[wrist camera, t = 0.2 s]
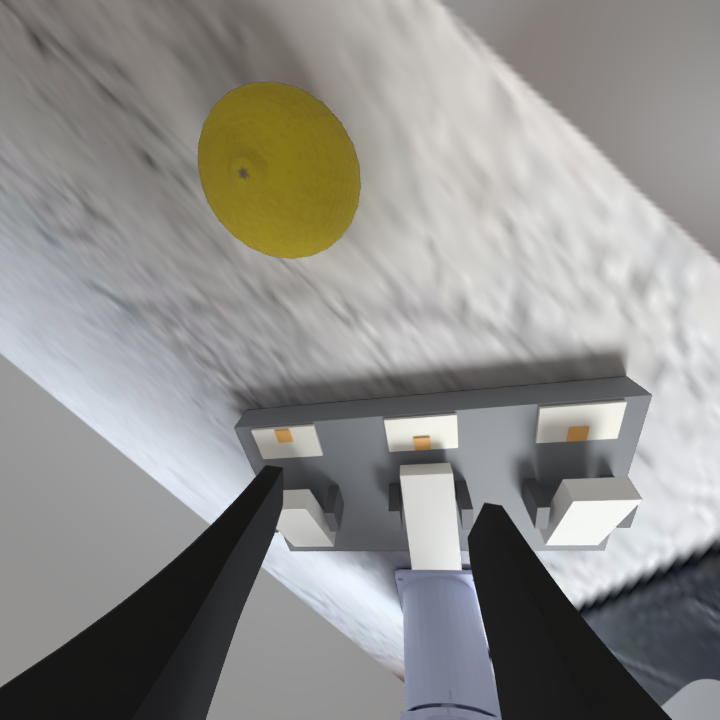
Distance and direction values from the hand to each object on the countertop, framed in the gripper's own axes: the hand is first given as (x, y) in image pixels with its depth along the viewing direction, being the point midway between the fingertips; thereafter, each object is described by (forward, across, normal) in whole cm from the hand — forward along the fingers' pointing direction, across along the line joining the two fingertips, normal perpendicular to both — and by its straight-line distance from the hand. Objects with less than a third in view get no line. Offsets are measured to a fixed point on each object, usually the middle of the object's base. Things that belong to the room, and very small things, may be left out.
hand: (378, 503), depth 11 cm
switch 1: (+6, +4, +11) cm, 13 cm away
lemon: (+10, +5, -10) cm, 15 cm away
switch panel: (+10, -4, +8) cm, 14 cm away
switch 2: (+6, -13, +6) cm, 15 cm away
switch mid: (+6, -4, +8) cm, 11 cm away
